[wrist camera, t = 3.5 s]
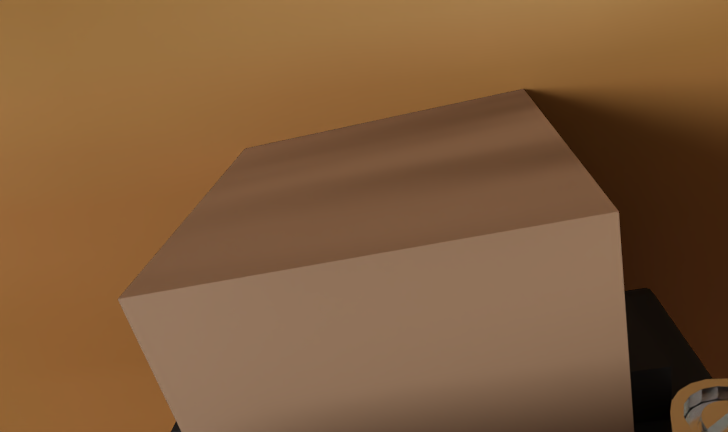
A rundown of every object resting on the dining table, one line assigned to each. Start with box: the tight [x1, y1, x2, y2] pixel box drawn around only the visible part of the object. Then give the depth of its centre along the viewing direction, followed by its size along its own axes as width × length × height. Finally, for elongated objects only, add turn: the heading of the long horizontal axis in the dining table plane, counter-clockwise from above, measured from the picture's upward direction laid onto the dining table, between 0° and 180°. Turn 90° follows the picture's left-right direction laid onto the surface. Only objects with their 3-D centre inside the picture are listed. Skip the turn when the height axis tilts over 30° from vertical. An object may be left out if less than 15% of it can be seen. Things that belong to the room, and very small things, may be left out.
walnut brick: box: [118, 89, 634, 432], centre depth 9 cm, size 8×5×5 cm, turn 14°
